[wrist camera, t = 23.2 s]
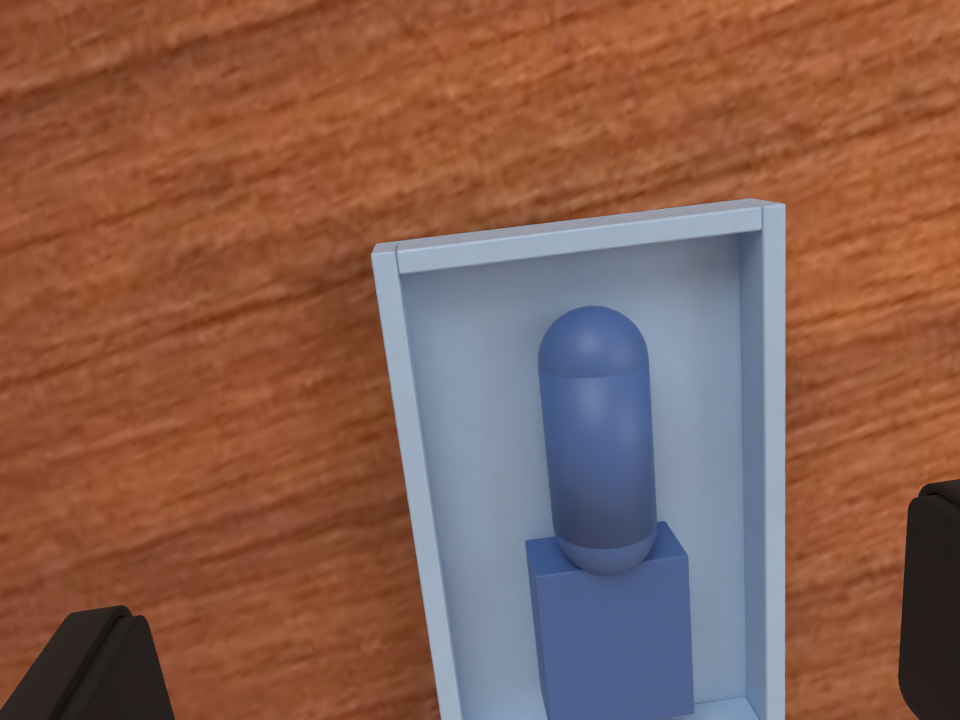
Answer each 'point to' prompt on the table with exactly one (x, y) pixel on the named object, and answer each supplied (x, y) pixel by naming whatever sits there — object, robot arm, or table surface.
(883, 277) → the table surface
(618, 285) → the blue tray
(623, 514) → the blue stamp block
